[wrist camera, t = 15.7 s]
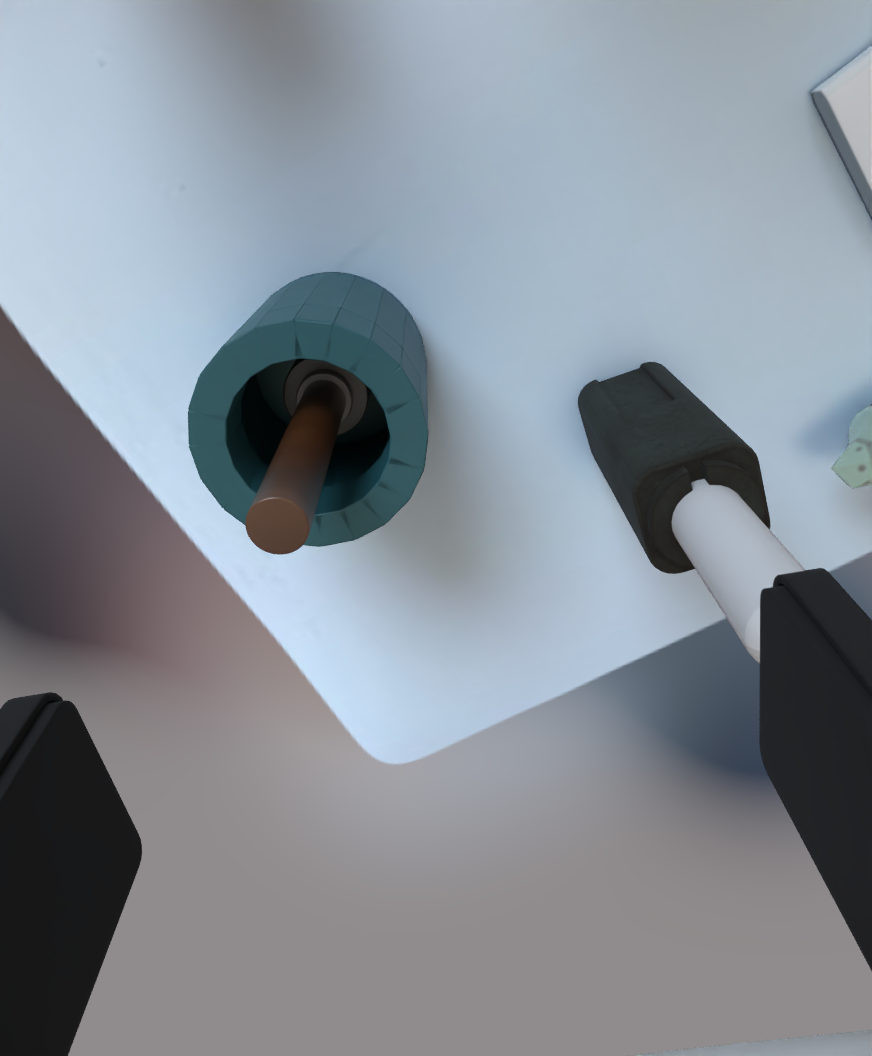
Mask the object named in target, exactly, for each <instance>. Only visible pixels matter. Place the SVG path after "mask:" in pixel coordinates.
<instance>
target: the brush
mask: <svg viewBox="0 0 872 1056" xmlns="http://www.w3.org/2000/svg"><path fill="white" fill-rule="evenodd" d="M370 391H371V389H369V388H368V387H367V386H366V385H365V384H364V383H362V382H361V381H360V380H359V379H358V378H357V377H355V376H354V375H353V374H352V373H351V372H348V371H346V370H344V369H342V368H339V367H337V366H335V365H332V364H330V363H328V362H325V361H317V360H308V359H296V360H295V362H294V364H293V366H292V368H291V369H290V371H289V373H288V375H287V377H286V379H285V382H284V387H283V400H284V404H285V407H286V410H287V412H288V414H289V415H290V417H291V420H290V423H289V425H288V427H287V429H286V431H285V433H284V436H283V438H282V440H281V442H280V444H279V446H278V448H277V451H276V453H275V455H274V457H273V459H272V461H271V464H270V466H269V468H268V470H267V472H266V474H265V476H264V479H263V481H262V483H261V485H260V487H259V489H258V492H257V494H256V496H255V498H254V500H253V502H252V504H251V507H250V509H249V511H248V513H247V516H246V522H245V525H246V530H247V533H248V536H249V537H250V539H251V540H252V542H253V543H254V544H255V545H256V546H257V547H259V548H260V549H262V550H264V551H266V552H268V553H272V554H288V553H291V552H294V551H296V550H298V549H299V548H300V547H301V546H303V545H304V543H305V542H306V540H307V539H308V536H309V533H310V530H311V526H312V522H313V519H314V515H315V512H316V508H317V505H318V501H319V498H320V494H321V491H322V487H323V484H324V480H325V477H326V473H327V469H328V466H329V462H330V459H331V455H332V452H333V448H334V445H335V441H336V438H337V436H338V435H342V434H344V433H347V432H348V431H350V430H352V429H353V428H354V427H356V426H357V425H358V424H359V422H360V421H361V420H362V418H363V417H364V415H365V412H366V410H367V406H368V401H369V396H370Z"/></svg>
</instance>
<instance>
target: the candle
mask: <svg viewBox="0 0 872 1056" xmlns="http://www.w3.org/2000/svg"><path fill="white" fill-rule="evenodd" d="M578 407H579V411H580V414H581V418H582V421H583V425H584V428H585V432H586V435H587V438H588V442H589V445H590V449H591V452H592V454H593V456H594V458H595V460H596V462H597V464H598V466H599V468H600V469H601V471H602V473H603V475H604V477H605V479H606V481H607V482H608V484H609V486H610V488H611V490H612V492H613V493H614V495H615V497H616V499H617V501H618V503H619V505H620V506H621V508H622V510H623V512H624V514H625V516H626V517H627V519H628V521H629V523H630V525H631V527H632V529H633V530H634V532H635V534H636V536H637V538H638V540H639V542H640V543H641V545H642V547H643V549H644V551H645V553H646V554H647V556H648V558H649V560H650V562H651V563H652V564H653V566H654V567H655V568H657V569H658V570H660V571H662V572H665V573H671V574H676V573H682V572H685V571H689V570H692V569H696V570H697V572H698V574H699V575H700V577H701V578H702V580H703V581H704V583H705V585H706V586H707V588H708V589H709V591H710V592H711V594H712V596H713V597H714V599H715V600H716V602H717V603H718V605H719V607H720V608H721V610H722V611H723V613H724V614H725V616H726V618H727V619H728V621H729V622H730V624H731V625H732V627H733V628H734V630H735V632H736V633H737V635H738V636H739V638H740V640H741V641H742V642H743V644H744V646H745V647H746V649H747V651H748V652H749V653H750V655H752V657H753V658H754V659H755V660H756V661H757V662H758V663H760V594H761V591H762V590H763V589H764V588H770V587H773V582H774V579H775V577H776V576H777V575H781V574H787V573H793V572H799V571H805V569H804V568H803V567H802V566H801V565H800V564H799V562H798V561H797V560H796V559H795V558H794V557H793V556H792V555H791V553H790V552H789V551H788V550H787V549H786V548H785V547H784V546H783V544H782V543H781V542H780V541H779V540H778V539H777V538H776V537H775V536H774V534H773V533H772V532H771V531H770V517H769V512H768V507H767V502H766V496H765V491H764V486H763V481H762V476H761V470H760V465H759V461H758V458H757V455H756V453H755V452H754V451H753V450H752V448H750V447H749V446H748V445H747V444H746V443H745V442H744V441H743V440H742V439H741V438H740V437H739V436H738V435H737V434H736V433H734V432H733V431H732V430H731V429H730V428H729V427H728V426H727V425H726V424H725V423H724V422H723V421H722V420H721V419H720V418H718V417H717V416H716V415H715V414H714V413H713V412H712V411H711V410H710V409H709V408H708V407H707V406H706V405H705V404H704V403H702V402H701V401H700V400H699V399H698V398H697V397H696V396H695V395H694V394H693V393H692V392H691V391H690V390H689V389H688V388H687V387H685V386H684V385H683V384H682V383H681V382H680V381H679V380H678V379H677V378H676V377H675V376H674V375H673V374H672V373H671V372H669V371H668V370H667V369H666V368H665V367H664V366H662V365H661V364H658V363H655V362H648V363H643V364H642V365H641V367H640V368H639V369H636V370H633V371H630V372H627V373H624V374H621V375H619V376H616V377H613V378H610V379H607V380H604V381H601V382H598V381H597V380H594V381H592V382H590V383H588V384H587V385H586V386H585V387H584V388H583V389H582V391H581V392H580V395H579V398H578Z"/></svg>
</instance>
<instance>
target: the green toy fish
mask: <svg viewBox="0 0 872 1056" xmlns="http://www.w3.org/2000/svg"><path fill="white" fill-rule="evenodd" d="M848 438H849V443H848V446H847V448H846V450H845V452H844V453H843V454H842V455H841V457H840V458H839V459H838V460H837V461H836V463H835V464H834V465H833V466H832V467H831V469H832V470H833V471H834V472H835V473H836V474H837V475H838V476H839V477H840V478H841V479H842V480H843V481H844V482H845V483H846V484H847V485H848V486H850V487H852V488H858V487H862V486H867V485H871V484H872V404H871V405H869V406H868V407H866V408H864V409H863V410H861V411H860V412H858V413H857V414H856V415H855V416H854V418H853V419H852V422H851V424H850V427H849V434H848Z"/></svg>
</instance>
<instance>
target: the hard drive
mask: <svg viewBox="0 0 872 1056" xmlns="http://www.w3.org/2000/svg"><path fill="white" fill-rule="evenodd" d="M811 96H812V99H813V102H814V104H815V106H816V108H817V110H818V112H819V114H820V116H821V118H822V120H823V122H824V124H825V126H826V128H827V130H828V133H829V134H830V136H831V138H832V140H833V142H834V144H835V146H836V148H837V150H838V152H839V154H840V156H841V158H842V160H843V162H844V164H845V166H846V168H847V170H848V172H849V174H850V176H851V178H852V180H853V182H854V184H855V186H856V188H857V190H858V192H859V194H860V196H861V198H862V200H863V202H864V204H865V206H866V209H867V211H868V213H869V215H870V216H871V218H872V46H870V47H869V48H867V49H866V50H865V51H863V52H862V53H861V54H860V55H858V56H857V57H856V58H854V59H853V60H852V61H850V62H849V63H848V64H846V65H845V66H844V67H842V68H841V69H840V70H839V71H837V72H836V73H835V74H833V75H832V76H831V77H830V78H828V79H827V80H826V81H824V82H823V83H822V84H820V85H819V86H818V87H816V88H815V89H814V90H813V91H812V92H811Z"/></svg>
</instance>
